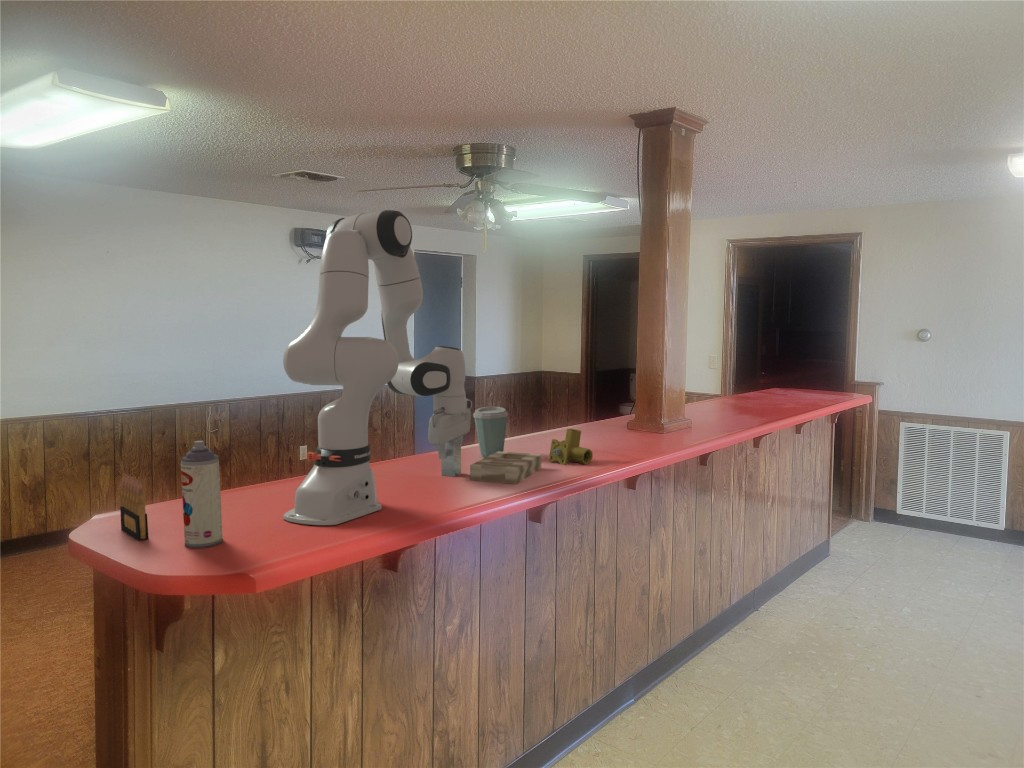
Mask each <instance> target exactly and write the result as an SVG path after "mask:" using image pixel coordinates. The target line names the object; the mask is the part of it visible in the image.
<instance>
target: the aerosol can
mask: <svg viewBox="0 0 1024 768" xmlns="http://www.w3.org/2000/svg"><path fill="white" fill-rule="evenodd" d="M193 443H194V444H193V447H192V448H191V449H190V450H189V451H187V452H186V454H185V455H184V456H183V457H181V459H180V460H181V461H180V475H181V494H182V495H181V496H182V515H183V530H184V531H183V535H184V547H186V548H189V549H204V548H205V549H206V548H211V547H214V546H218V545H219V544H222V542H223V540H224V539H223V519H222V518H223V517H222V497H221V496H222V495H221V493H222V492H221V475H220V472H221V471H220V470H221V469H220V459H219V455H217V454H215V453H214V452H213V450H211V449H209V447H207V446H206V445H205V442H204V440H195V441H194V442H193Z"/></svg>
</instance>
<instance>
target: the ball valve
mask: <svg viewBox="0 0 1024 768" xmlns="http://www.w3.org/2000/svg"><path fill="white" fill-rule="evenodd" d="M581 435H582V430H580V429H575V428H566V432H565V437H564V440H561V441H559V440H558V439H557V438H553V439H551V443H550V450H549V455H548V456H549V457H548V460H549V462H550V463H555V462H556V461H558V463H559V464H560V465H562V466H567V463H568V462H570V463H571V462H572V463H573V462H576V463H580V464H584V465H588V464H590V463H591V462H592V459H593V456H594V455H593V454H594V453H593V451H592V450H591V449H589V448H587V447H582V446H580V442H581Z"/></svg>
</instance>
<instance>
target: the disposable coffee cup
mask: <svg viewBox="0 0 1024 768" xmlns="http://www.w3.org/2000/svg"><path fill="white" fill-rule="evenodd" d="M508 416H509V412H508V411H507V410H506V408H504V407H501V406H484V407H480V408H479V407H478V408H477V409H475V410H474V412H473V416H472V417H473V418H474V424H475V430H476V435H477V440H478V445H479V453H480V455H481V458H482V459H484V458H486V457H488V456H490V455H492V454H494V453H496V452H498V451H500V452H504V450H505V442H506V431H507V423H508V422H507V421H508Z"/></svg>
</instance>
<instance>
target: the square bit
mask: <svg viewBox="0 0 1024 768" xmlns="http://www.w3.org/2000/svg"><path fill="white" fill-rule="evenodd" d="M445 451H446V452H447V458H445V459H440V460H441V476H443V477H453V478H455V477H457V476H460V475H462V444H461V438H455V439H453V440H451V441H449V442H446V446H445Z"/></svg>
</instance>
